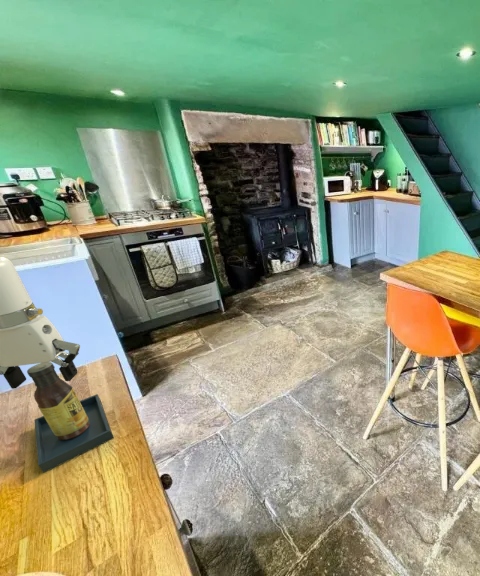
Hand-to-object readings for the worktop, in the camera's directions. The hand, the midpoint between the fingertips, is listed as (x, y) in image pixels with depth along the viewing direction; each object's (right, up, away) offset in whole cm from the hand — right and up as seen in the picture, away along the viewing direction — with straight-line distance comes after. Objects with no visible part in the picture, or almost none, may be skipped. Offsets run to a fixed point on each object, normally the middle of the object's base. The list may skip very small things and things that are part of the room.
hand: (46, 380), depth 69 cm
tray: (0, -15, +7) cm, 17 cm away
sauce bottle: (0, -15, +7) cm, 16 cm away
